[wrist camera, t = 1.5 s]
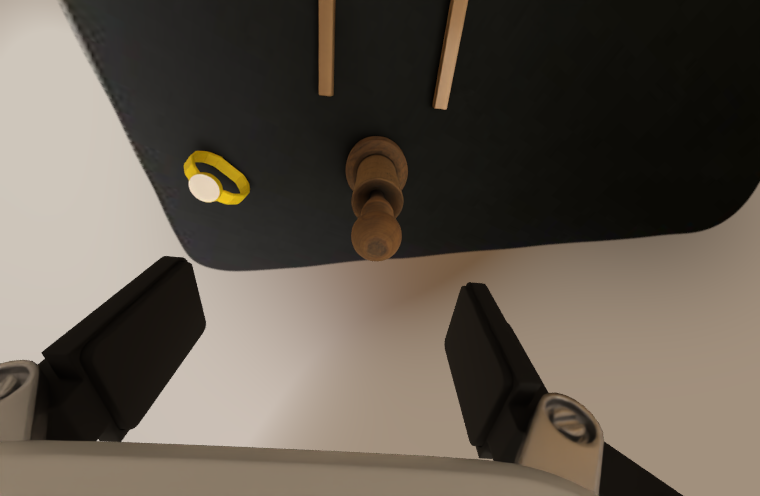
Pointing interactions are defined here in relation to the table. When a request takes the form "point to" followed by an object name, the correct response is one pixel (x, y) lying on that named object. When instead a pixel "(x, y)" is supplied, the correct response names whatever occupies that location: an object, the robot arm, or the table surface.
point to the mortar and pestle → (376, 196)
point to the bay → (446, 60)
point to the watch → (214, 179)
